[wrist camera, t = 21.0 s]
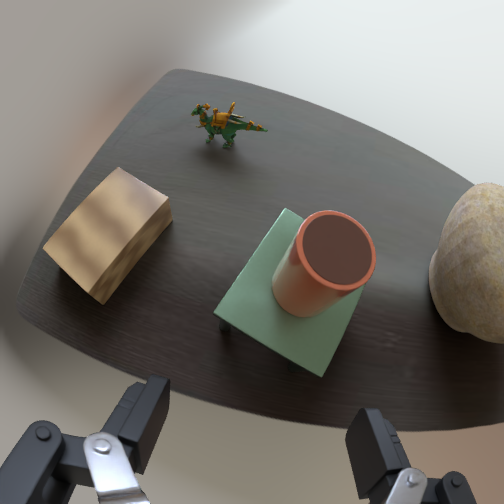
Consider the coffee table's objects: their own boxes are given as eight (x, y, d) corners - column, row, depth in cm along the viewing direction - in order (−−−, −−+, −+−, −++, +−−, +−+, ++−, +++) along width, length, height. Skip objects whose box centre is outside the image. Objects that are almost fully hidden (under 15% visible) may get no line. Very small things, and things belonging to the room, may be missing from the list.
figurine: (195, 128, 44) (195, 89, 36) (264, 147, 44) (274, 107, 36) (187, 140, 42) (186, 99, 35) (260, 159, 42) (269, 119, 35)
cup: (273, 318, 24) (300, 290, 17) (270, 254, 27) (292, 206, 20) (336, 316, 25) (383, 289, 18) (329, 257, 28) (367, 213, 20)
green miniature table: (295, 378, 30) (322, 377, 22) (212, 328, 31) (212, 312, 24) (343, 287, 35) (373, 263, 28) (270, 242, 36) (285, 207, 29)
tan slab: (103, 305, 30) (87, 293, 25) (59, 264, 31) (42, 247, 26) (172, 220, 36) (168, 197, 31) (125, 189, 37) (117, 166, 32)
